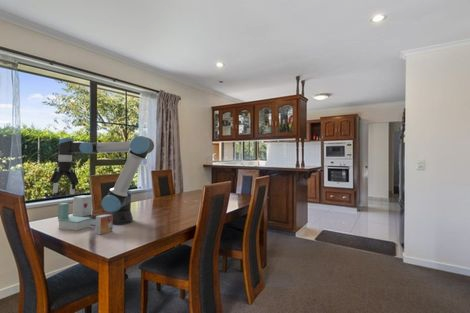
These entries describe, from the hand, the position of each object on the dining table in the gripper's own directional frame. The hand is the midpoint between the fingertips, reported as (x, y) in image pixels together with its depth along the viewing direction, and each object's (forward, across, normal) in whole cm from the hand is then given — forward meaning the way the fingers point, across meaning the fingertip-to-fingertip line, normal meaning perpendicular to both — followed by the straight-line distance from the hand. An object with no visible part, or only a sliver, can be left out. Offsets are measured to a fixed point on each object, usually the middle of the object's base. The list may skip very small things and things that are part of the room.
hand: (63, 193), depth 160 cm
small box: (+22, -34, +2) cm, 40 cm away
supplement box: (+22, +12, -28) cm, 38 cm away
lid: (+17, -8, 0) cm, 19 cm away
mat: (+22, -10, -14) cm, 28 cm away
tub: (+22, -10, 0) cm, 24 cm away
